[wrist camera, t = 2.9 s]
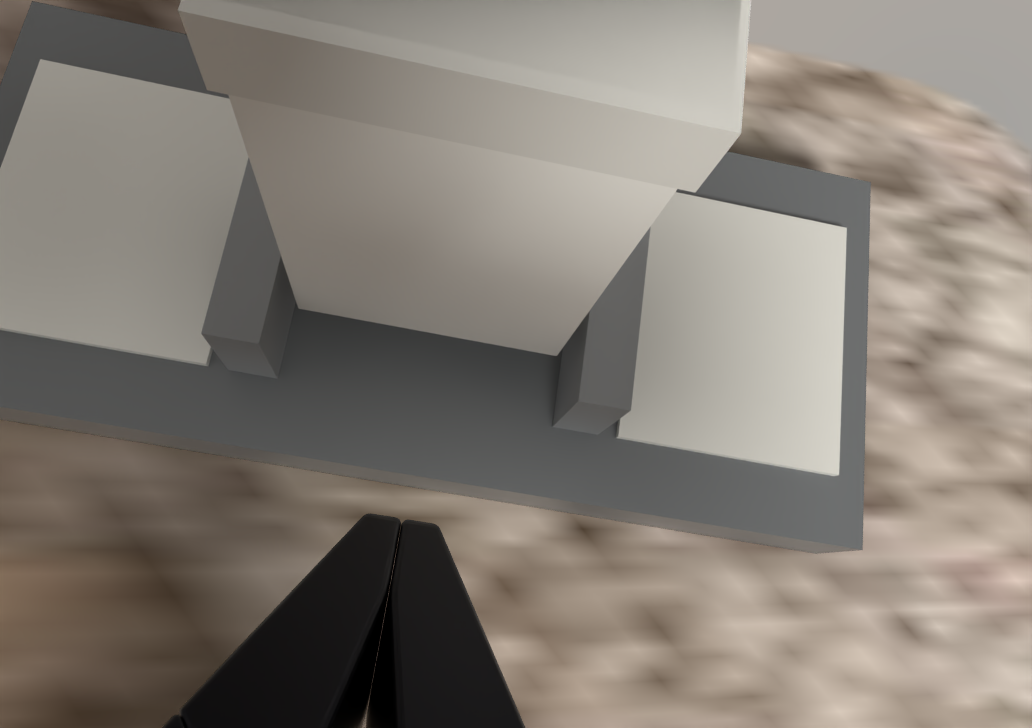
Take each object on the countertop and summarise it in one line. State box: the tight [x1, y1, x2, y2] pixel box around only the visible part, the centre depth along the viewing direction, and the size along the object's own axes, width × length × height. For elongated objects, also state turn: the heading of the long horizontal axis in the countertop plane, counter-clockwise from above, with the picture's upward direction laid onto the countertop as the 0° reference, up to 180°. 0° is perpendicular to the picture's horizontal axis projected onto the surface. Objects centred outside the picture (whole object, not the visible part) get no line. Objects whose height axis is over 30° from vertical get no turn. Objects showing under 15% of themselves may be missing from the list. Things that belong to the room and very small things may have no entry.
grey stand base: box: [0, 1, 871, 553], centre depth 18 cm, size 9×20×4 cm, turn 82°
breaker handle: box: [178, 0, 751, 356], centre depth 12 cm, size 2×5×8 cm, turn 81°
